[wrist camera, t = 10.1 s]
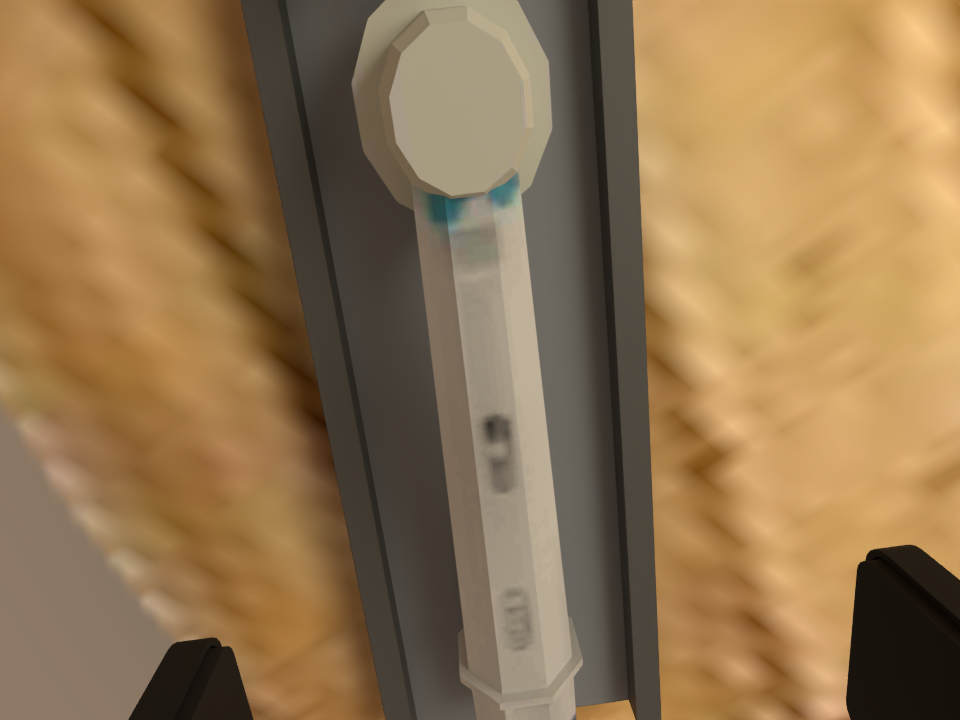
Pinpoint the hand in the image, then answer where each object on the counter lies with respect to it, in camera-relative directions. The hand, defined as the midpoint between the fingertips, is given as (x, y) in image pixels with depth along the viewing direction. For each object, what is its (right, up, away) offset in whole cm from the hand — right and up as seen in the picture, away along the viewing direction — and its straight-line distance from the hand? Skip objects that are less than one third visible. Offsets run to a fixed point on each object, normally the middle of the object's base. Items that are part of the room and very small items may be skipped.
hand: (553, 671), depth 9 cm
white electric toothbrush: (-1, +3, +13) cm, 14 cm away
